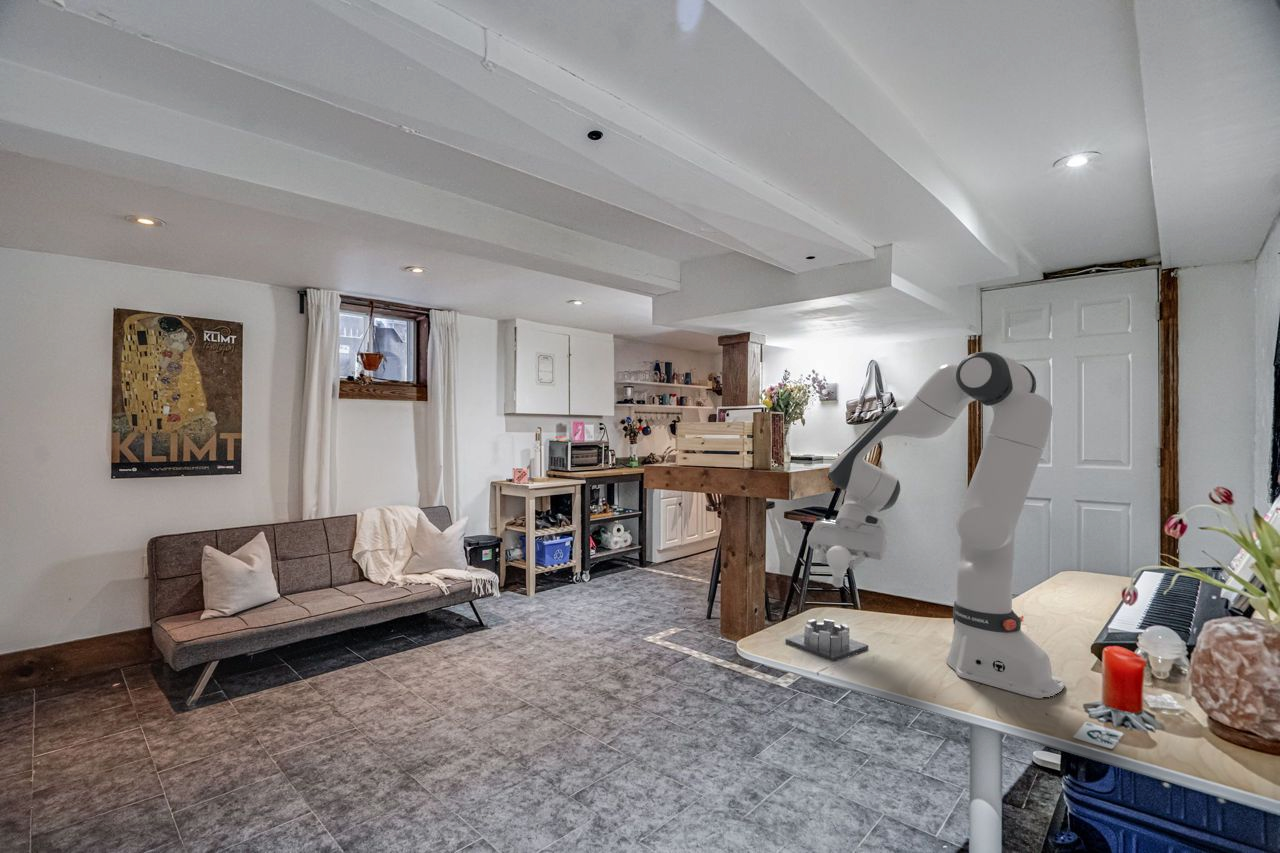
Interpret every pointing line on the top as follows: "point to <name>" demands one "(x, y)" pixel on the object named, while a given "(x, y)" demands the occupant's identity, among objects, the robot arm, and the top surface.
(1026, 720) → the top surface
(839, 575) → the lightbulb
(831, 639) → the lamp socket
